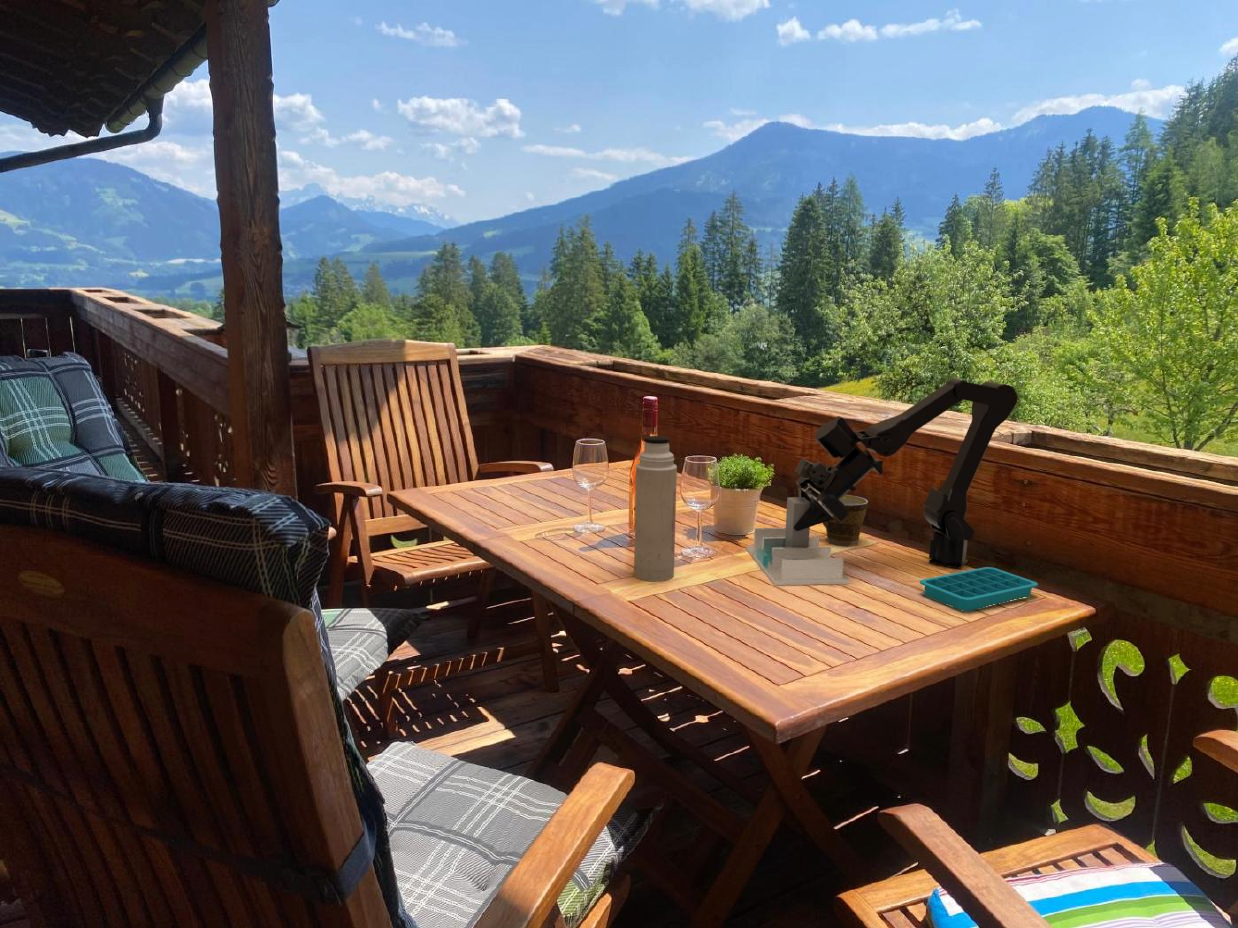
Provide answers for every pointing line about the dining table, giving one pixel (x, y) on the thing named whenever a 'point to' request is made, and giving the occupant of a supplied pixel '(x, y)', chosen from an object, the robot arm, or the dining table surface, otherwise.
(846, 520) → the ceramic cup
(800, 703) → the dining table surface
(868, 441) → the robot arm
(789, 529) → the tall gray rectangular box
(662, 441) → the thermos bottle
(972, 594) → the ice cube tray
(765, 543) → the tray
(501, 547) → the dining table surface
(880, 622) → the dining table surface
